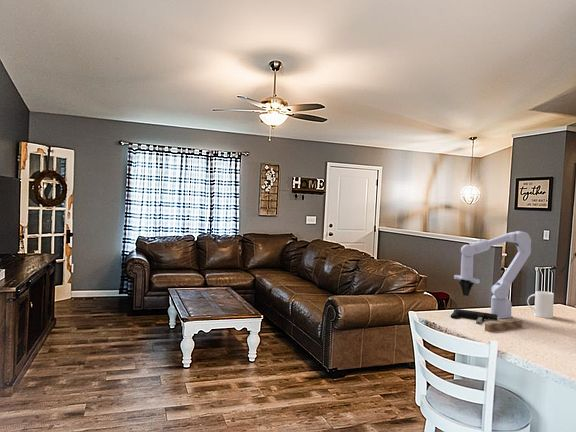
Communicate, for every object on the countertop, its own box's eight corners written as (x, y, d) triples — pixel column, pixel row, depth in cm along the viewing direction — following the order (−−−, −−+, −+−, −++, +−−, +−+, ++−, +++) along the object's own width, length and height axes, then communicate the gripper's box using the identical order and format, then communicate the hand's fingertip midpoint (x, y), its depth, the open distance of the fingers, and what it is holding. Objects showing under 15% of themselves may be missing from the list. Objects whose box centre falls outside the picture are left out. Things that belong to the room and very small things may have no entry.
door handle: (493, 322, 201) (497, 313, 215) (448, 315, 212) (454, 307, 226) (493, 329, 202) (497, 319, 215) (447, 322, 212) (454, 313, 226)
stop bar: (518, 325, 204) (518, 319, 204) (522, 326, 202) (522, 320, 202) (484, 330, 195) (484, 323, 194) (488, 331, 193) (488, 324, 193)
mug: (526, 315, 224) (527, 292, 224) (526, 312, 232) (527, 289, 232) (553, 319, 219) (554, 295, 218) (552, 315, 226) (554, 292, 226)
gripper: (450, 266, 228) (449, 293, 229) (472, 271, 215) (471, 298, 216) (460, 266, 231) (458, 292, 232) (483, 270, 218) (482, 297, 219)
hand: (465, 295), depth 224 cm, fingers closed
